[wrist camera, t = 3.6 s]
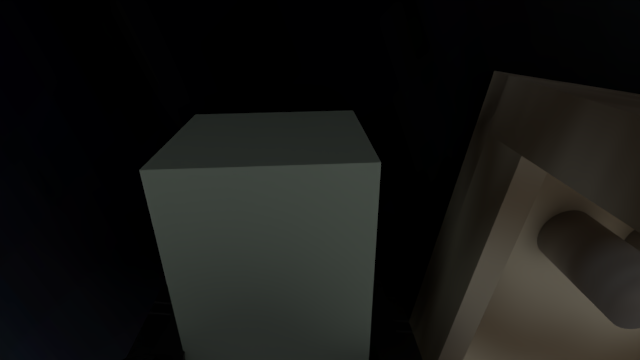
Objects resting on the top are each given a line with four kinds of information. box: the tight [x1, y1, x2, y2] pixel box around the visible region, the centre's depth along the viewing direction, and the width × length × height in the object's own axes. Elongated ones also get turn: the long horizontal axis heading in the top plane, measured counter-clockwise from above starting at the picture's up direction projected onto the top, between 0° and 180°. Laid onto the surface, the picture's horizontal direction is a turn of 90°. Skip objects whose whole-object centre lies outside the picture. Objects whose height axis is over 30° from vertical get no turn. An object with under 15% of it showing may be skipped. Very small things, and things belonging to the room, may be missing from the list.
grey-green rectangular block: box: [139, 110, 381, 360], centre depth 11 cm, size 12×4×4 cm, turn 1°
